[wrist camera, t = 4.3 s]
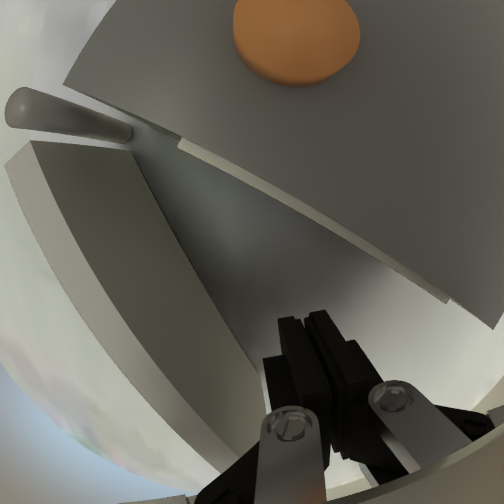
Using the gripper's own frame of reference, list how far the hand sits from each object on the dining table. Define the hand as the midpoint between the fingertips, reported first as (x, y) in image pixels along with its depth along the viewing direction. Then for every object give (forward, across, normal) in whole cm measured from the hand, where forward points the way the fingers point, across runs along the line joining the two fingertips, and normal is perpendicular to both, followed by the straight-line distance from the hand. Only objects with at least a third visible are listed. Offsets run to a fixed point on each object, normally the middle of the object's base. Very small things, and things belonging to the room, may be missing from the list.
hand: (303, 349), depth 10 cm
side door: (+5, +4, -2) cm, 7 cm away
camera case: (+5, -4, -10) cm, 12 cm away
